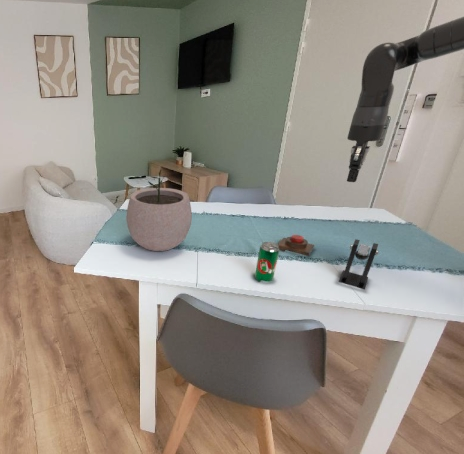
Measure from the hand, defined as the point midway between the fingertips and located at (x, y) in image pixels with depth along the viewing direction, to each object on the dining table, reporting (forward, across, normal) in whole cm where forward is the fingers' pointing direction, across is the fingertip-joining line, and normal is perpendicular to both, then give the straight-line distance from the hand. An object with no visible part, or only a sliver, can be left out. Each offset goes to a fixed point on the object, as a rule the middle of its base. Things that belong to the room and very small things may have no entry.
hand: (351, 181), depth 91 cm
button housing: (+26, +3, -10) cm, 28 cm away
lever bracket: (+26, +15, +8) cm, 31 cm away
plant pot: (+26, +32, -50) cm, 65 cm away
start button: (+23, +3, -10) cm, 25 cm away
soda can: (+26, +30, -12) cm, 42 cm away
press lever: (+20, +11, +8) cm, 24 cm away
